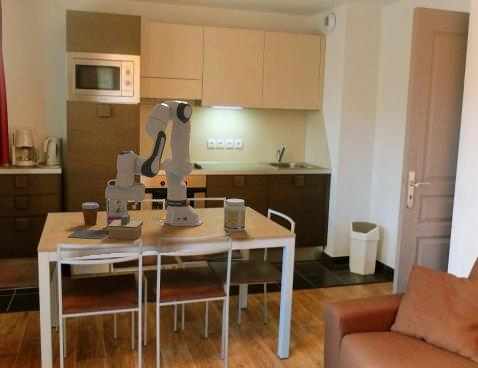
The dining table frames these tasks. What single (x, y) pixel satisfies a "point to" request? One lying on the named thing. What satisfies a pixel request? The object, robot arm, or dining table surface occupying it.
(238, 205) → the supplement tub
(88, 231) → the mat
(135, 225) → the lid
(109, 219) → the candy bar box
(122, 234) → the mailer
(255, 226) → the dining table surface
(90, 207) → the disposable coffee cup
